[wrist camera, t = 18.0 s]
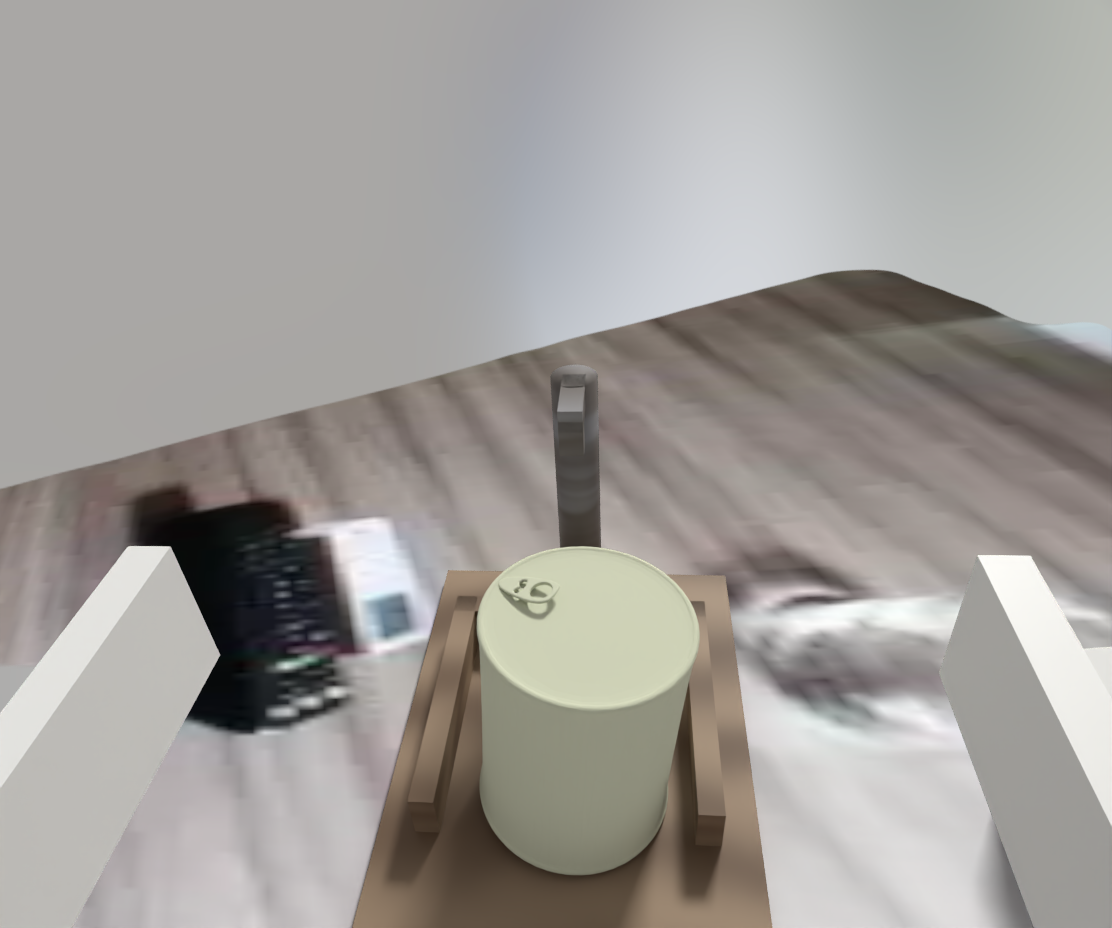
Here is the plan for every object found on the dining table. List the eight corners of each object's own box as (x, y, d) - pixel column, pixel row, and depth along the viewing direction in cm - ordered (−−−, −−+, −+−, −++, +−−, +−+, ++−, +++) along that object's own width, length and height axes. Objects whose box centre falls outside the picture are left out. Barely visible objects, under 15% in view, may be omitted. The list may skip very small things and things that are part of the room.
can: (538, 680, 45) (545, 512, 38) (694, 753, 41) (734, 583, 34) (442, 815, 38) (428, 641, 31) (619, 916, 35) (648, 745, 28)
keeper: (775, 975, 33) (839, 721, 24) (352, 949, 35) (248, 700, 25) (724, 584, 52) (748, 352, 42) (449, 579, 54) (411, 353, 44)
